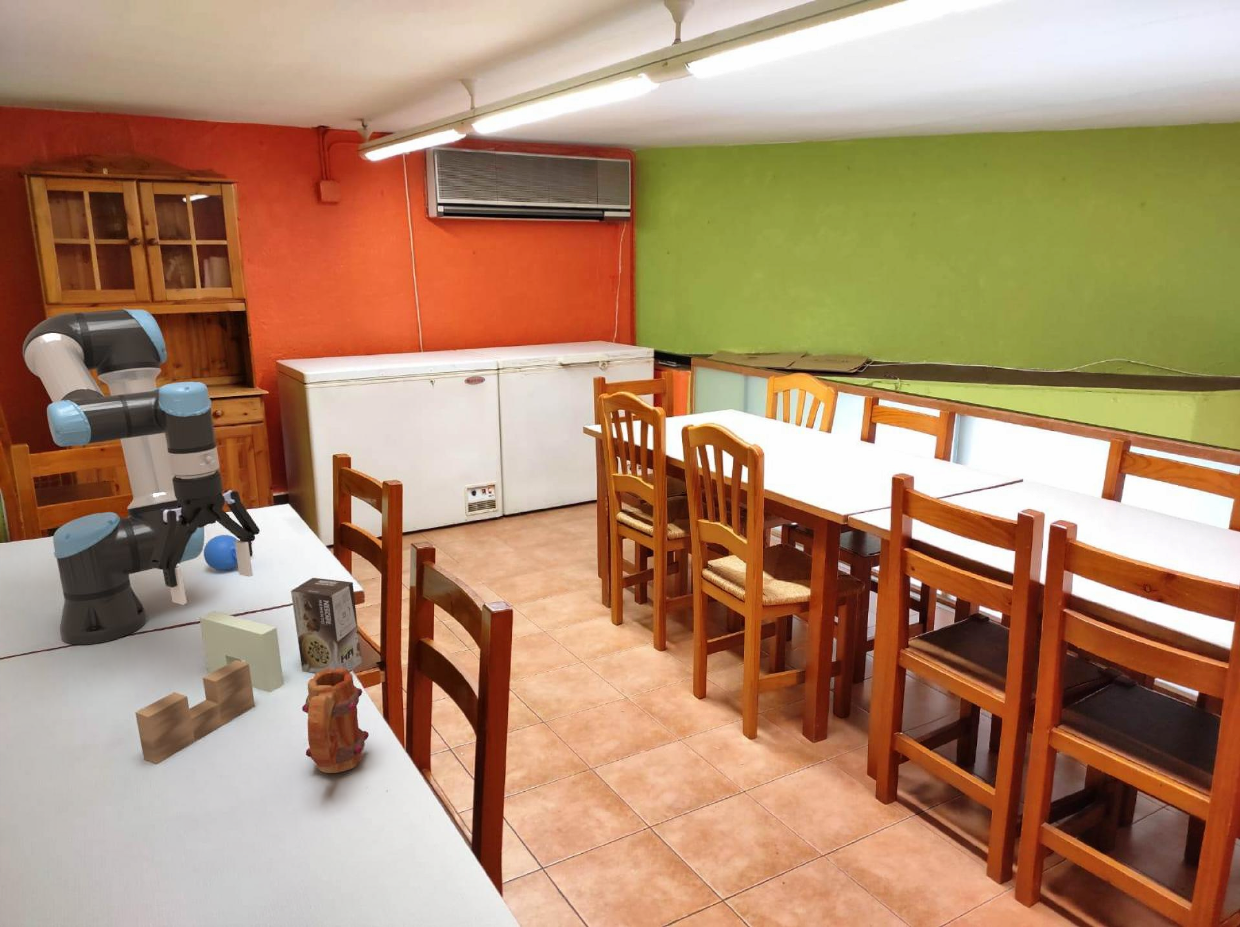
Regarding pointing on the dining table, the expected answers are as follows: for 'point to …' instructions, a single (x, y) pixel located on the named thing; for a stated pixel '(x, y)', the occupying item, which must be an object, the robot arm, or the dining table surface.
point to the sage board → (243, 647)
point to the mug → (334, 721)
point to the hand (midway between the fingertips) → (214, 588)
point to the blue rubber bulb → (221, 552)
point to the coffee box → (326, 625)
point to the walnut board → (194, 712)
